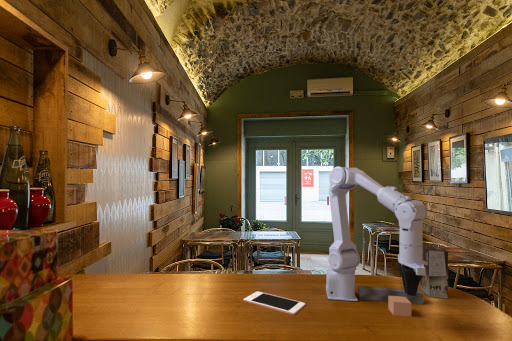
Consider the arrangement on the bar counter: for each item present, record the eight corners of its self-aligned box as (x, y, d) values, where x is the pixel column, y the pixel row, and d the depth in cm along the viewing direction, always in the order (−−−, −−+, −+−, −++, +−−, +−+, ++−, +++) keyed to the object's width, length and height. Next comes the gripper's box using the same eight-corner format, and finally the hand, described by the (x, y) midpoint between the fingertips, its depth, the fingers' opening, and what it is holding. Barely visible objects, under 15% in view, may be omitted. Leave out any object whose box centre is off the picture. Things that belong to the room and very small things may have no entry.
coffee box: (448, 299, 103) (449, 251, 104) (428, 297, 104) (428, 250, 105) (438, 289, 112) (438, 246, 113) (419, 288, 113) (419, 244, 114)
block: (393, 315, 89) (393, 301, 89) (388, 308, 94) (388, 295, 94) (411, 317, 88) (411, 303, 89) (405, 309, 93) (405, 296, 94)
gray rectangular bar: (359, 299, 101) (359, 288, 101) (357, 296, 104) (357, 285, 104) (423, 304, 98) (423, 293, 98) (419, 300, 101) (419, 290, 101)
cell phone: (257, 293, 104) (257, 291, 104) (305, 306, 95) (305, 303, 95) (242, 302, 97) (242, 299, 97) (294, 316, 87) (294, 313, 87)
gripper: (438, 251, 76) (438, 305, 76) (415, 240, 90) (415, 286, 90) (408, 249, 77) (408, 303, 76) (390, 239, 91) (390, 284, 91)
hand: (410, 294), depth 83 cm, fingers closed
